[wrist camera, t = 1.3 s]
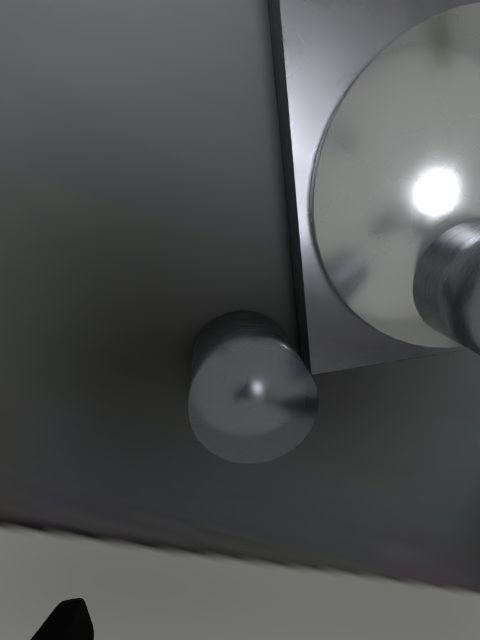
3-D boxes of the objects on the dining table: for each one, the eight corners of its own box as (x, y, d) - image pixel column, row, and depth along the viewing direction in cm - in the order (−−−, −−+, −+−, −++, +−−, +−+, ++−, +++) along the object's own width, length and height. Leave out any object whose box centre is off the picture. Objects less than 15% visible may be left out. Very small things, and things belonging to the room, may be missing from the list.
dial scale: (560, 316, 20) (610, 332, 18) (301, 358, 20) (315, 380, 17) (612, -92, 15) (692, -150, 13) (262, -53, 14) (275, -106, 12)
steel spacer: (294, 393, 20) (322, 452, 15) (201, 409, 20) (200, 473, 15) (285, 303, 19) (313, 337, 14) (184, 318, 18) (177, 358, 14)
